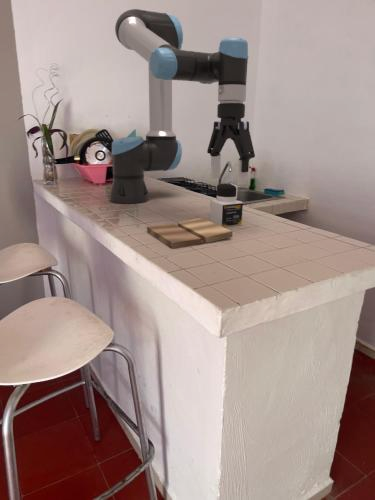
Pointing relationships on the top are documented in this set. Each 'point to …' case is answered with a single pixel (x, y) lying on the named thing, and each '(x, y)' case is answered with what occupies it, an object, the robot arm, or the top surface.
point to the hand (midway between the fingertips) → (228, 181)
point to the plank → (205, 229)
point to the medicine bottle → (226, 207)
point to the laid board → (174, 236)
